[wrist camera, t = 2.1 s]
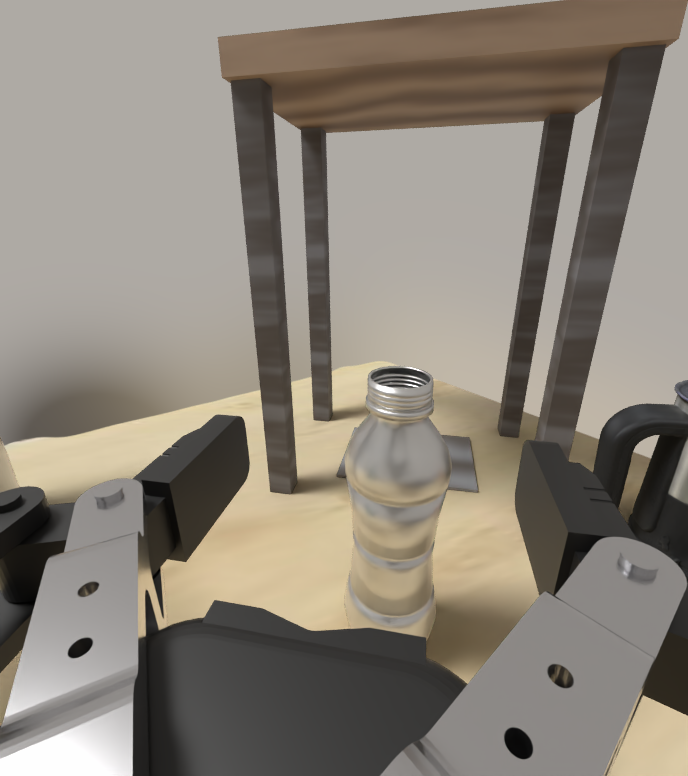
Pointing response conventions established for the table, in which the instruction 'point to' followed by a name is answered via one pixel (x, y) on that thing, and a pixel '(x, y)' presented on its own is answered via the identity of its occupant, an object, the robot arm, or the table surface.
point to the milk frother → (652, 472)
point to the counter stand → (438, 109)
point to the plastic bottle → (395, 504)
